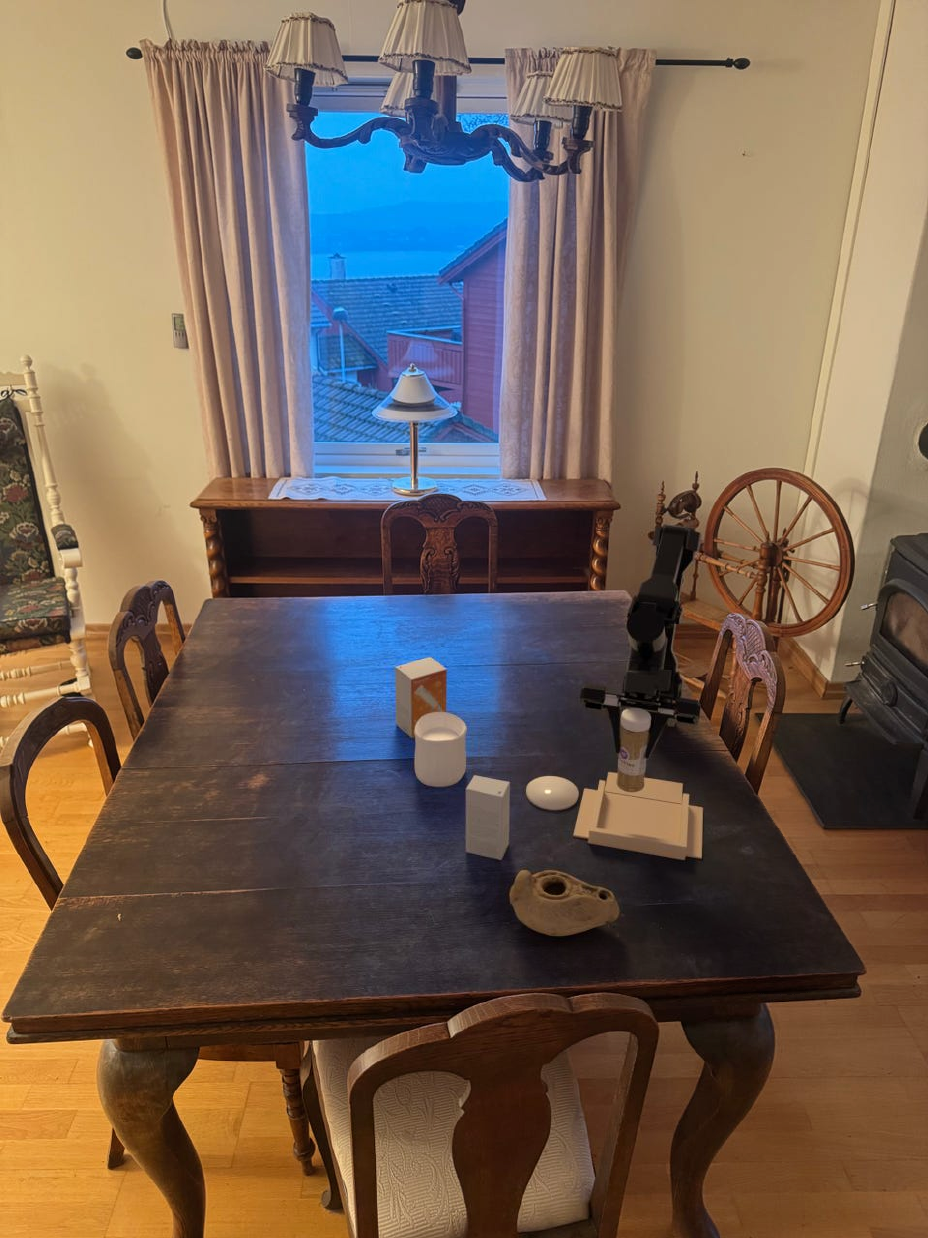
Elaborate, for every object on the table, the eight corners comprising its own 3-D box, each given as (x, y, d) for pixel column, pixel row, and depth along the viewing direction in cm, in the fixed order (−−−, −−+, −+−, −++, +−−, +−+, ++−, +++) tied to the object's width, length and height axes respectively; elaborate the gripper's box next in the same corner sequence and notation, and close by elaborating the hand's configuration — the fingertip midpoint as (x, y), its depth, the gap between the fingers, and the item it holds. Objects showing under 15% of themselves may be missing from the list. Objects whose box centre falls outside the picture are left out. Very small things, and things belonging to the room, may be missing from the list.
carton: (588, 770, 153) (589, 758, 152) (703, 788, 148) (704, 776, 147) (572, 840, 135) (573, 827, 134) (701, 863, 130) (703, 850, 129)
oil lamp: (623, 949, 115) (628, 904, 111) (513, 952, 114) (514, 907, 111) (607, 892, 125) (612, 849, 121) (506, 894, 124) (507, 851, 121)
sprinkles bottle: (610, 786, 137) (615, 714, 131) (625, 773, 140) (631, 703, 135) (635, 797, 134) (641, 725, 129) (650, 784, 137) (656, 713, 132)
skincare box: (509, 844, 134) (511, 781, 129) (501, 861, 131) (503, 797, 126) (473, 836, 136) (473, 773, 131) (464, 852, 132) (464, 789, 127)
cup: (427, 795, 146) (426, 747, 142) (403, 765, 154) (402, 719, 150) (476, 780, 150) (476, 733, 146) (450, 752, 158) (450, 706, 154)
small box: (411, 739, 162) (410, 679, 156) (395, 724, 166) (393, 666, 161) (447, 727, 166) (447, 668, 160) (430, 713, 171) (430, 655, 165)
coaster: (563, 774, 151) (563, 771, 151) (587, 803, 144) (588, 800, 144) (517, 785, 148) (517, 782, 148) (540, 815, 141) (540, 812, 141)
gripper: (585, 639, 133) (568, 735, 128) (707, 655, 128) (695, 756, 124) (590, 660, 143) (574, 750, 139) (703, 676, 139) (691, 770, 134)
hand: (632, 756), depth 133 cm, fingers closed on sprinkles bottle, 4 cm apart
